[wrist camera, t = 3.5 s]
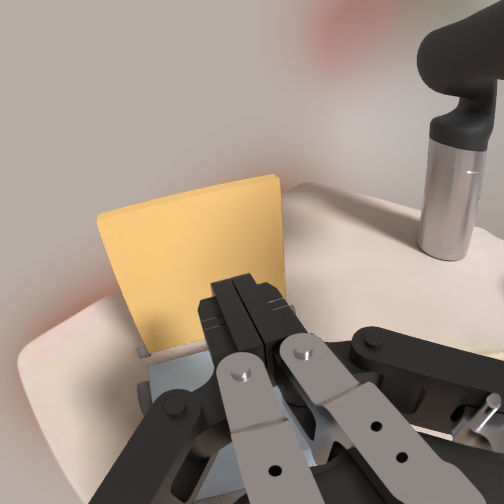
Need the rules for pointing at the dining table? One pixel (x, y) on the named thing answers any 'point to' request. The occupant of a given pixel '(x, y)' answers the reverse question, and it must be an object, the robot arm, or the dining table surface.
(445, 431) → the robot arm
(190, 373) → the flatbed
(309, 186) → the dining table surface
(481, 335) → the dining table surface
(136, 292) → the yellow plate
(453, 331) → the dining table surface
